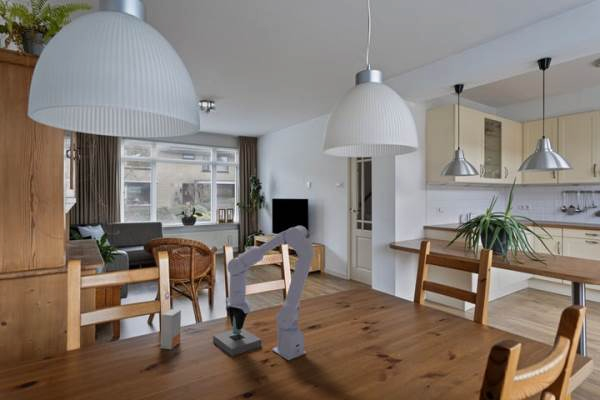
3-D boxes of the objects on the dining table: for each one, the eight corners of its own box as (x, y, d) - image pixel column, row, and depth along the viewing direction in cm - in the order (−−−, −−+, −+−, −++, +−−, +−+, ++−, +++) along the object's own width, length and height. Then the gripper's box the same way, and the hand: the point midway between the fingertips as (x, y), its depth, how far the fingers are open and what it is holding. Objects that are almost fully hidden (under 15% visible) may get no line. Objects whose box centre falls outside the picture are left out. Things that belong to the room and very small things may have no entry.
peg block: (261, 346, 118) (261, 339, 118) (231, 356, 110) (231, 349, 110) (241, 333, 128) (241, 327, 128) (213, 342, 120) (213, 335, 120)
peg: (242, 332, 119) (242, 316, 119) (235, 335, 117) (235, 318, 117) (238, 330, 121) (238, 314, 121) (231, 332, 119) (231, 316, 119)
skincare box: (171, 349, 114) (171, 315, 114) (160, 348, 115) (160, 314, 115) (180, 342, 120) (181, 309, 120) (170, 341, 121) (170, 309, 121)
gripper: (218, 287, 122) (217, 323, 122) (238, 297, 111) (237, 336, 111) (235, 284, 126) (234, 319, 126) (255, 293, 115) (254, 331, 116)
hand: (237, 327), depth 119 cm, fingers closed on peg, 3 cm apart
